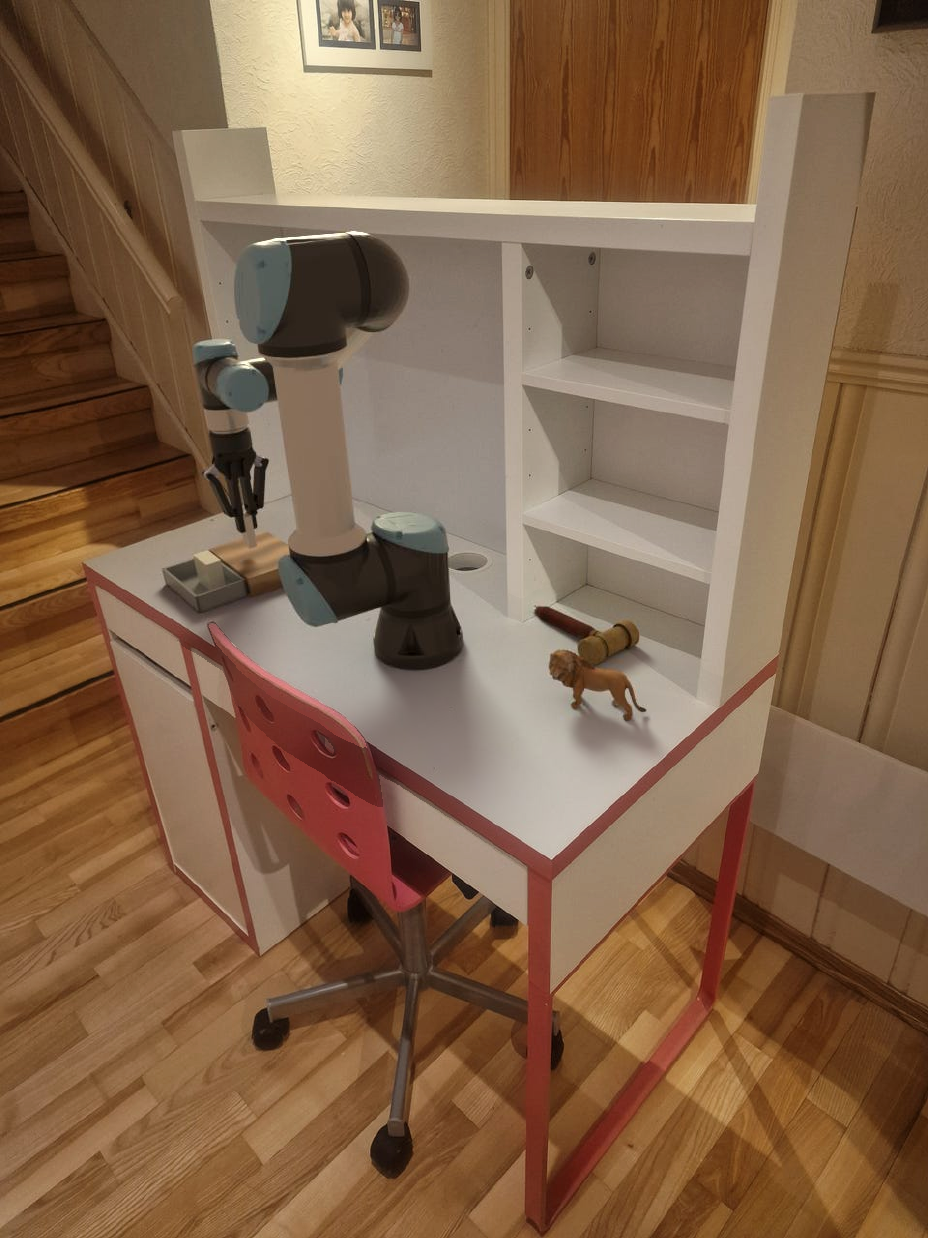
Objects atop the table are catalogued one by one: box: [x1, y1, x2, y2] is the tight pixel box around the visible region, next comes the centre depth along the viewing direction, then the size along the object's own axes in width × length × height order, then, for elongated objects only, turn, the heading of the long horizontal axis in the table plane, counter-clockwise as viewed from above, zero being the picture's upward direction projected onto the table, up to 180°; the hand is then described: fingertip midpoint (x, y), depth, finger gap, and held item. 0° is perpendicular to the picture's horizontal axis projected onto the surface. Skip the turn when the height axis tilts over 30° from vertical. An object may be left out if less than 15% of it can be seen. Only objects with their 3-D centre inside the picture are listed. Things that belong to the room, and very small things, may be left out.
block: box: [192, 549, 226, 591], centre depth 164 cm, size 6×6×3 cm
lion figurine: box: [548, 649, 647, 721], centre depth 125 cm, size 15×5×9 cm, turn 73°
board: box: [208, 530, 290, 598], centre depth 170 cm, size 18×13×4 cm
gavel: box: [534, 605, 640, 667], centre depth 145 cm, size 21×5×10 cm
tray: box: [161, 557, 249, 614], centre depth 164 cm, size 16×10×4 cm, turn 39°
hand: (250, 545), depth 167 cm, fingers closed
